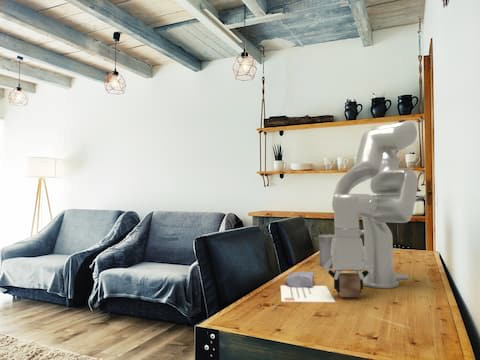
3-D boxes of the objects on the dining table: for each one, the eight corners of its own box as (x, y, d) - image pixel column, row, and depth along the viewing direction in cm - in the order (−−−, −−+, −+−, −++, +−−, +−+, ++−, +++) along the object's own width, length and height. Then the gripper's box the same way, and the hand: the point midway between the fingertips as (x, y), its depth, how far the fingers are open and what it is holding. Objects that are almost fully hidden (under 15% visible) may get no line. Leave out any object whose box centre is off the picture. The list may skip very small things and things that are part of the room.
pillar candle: (339, 263, 173) (338, 231, 174) (343, 267, 164) (341, 233, 164) (318, 263, 174) (317, 231, 175) (320, 267, 165) (319, 233, 165)
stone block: (286, 291, 130) (315, 287, 128) (283, 278, 130) (312, 273, 128) (289, 285, 141) (315, 280, 139) (286, 272, 142) (312, 268, 140)
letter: (326, 286, 131) (326, 285, 131) (335, 302, 111) (335, 301, 111) (280, 286, 132) (280, 285, 132) (281, 302, 112) (281, 301, 112)
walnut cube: (356, 291, 119) (355, 273, 119) (360, 297, 113) (360, 277, 113) (337, 291, 120) (336, 272, 120) (340, 296, 114) (340, 277, 114)
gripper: (371, 232, 120) (373, 288, 119) (317, 232, 122) (319, 288, 121) (378, 235, 113) (380, 295, 112) (320, 235, 114) (322, 294, 114)
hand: (348, 291), depth 117 cm, fingers closed on walnut cube, 5 cm apart
